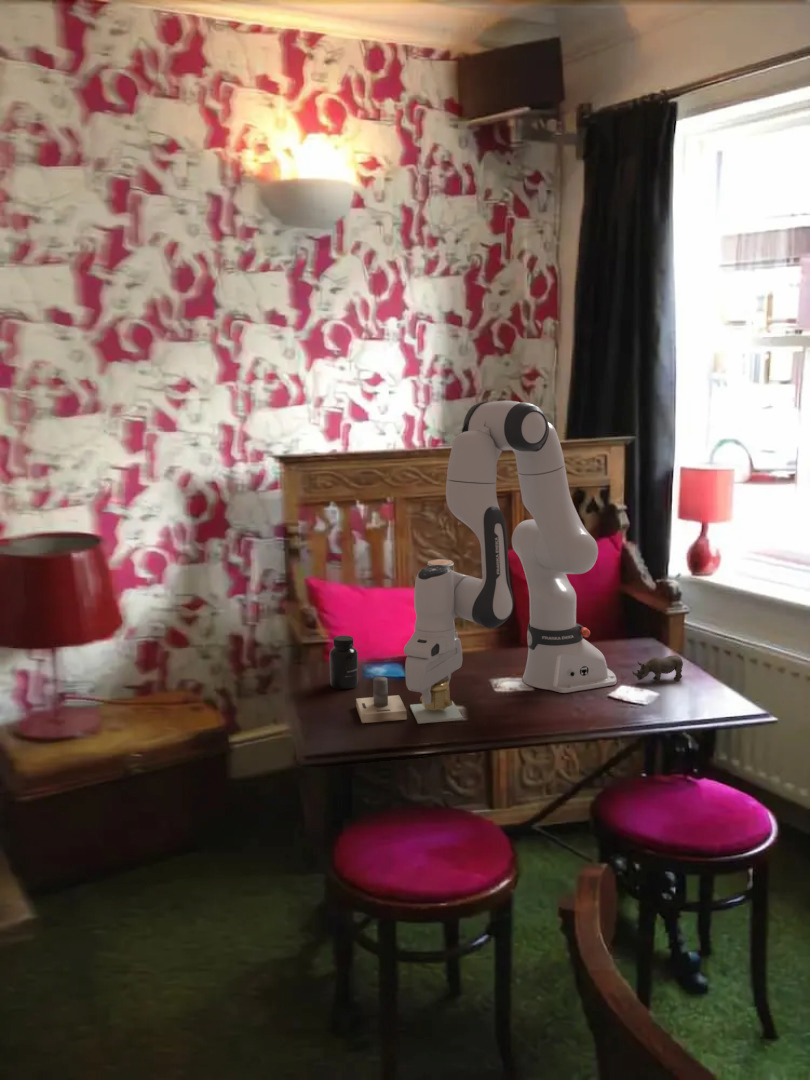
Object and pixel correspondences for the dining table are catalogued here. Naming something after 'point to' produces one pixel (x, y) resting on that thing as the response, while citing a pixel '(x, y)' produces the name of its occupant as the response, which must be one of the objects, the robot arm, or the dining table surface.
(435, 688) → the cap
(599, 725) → the dining table surface
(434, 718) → the coaster
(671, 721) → the dining table surface
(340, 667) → the supplement bottle
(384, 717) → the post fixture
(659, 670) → the rhino figurine
